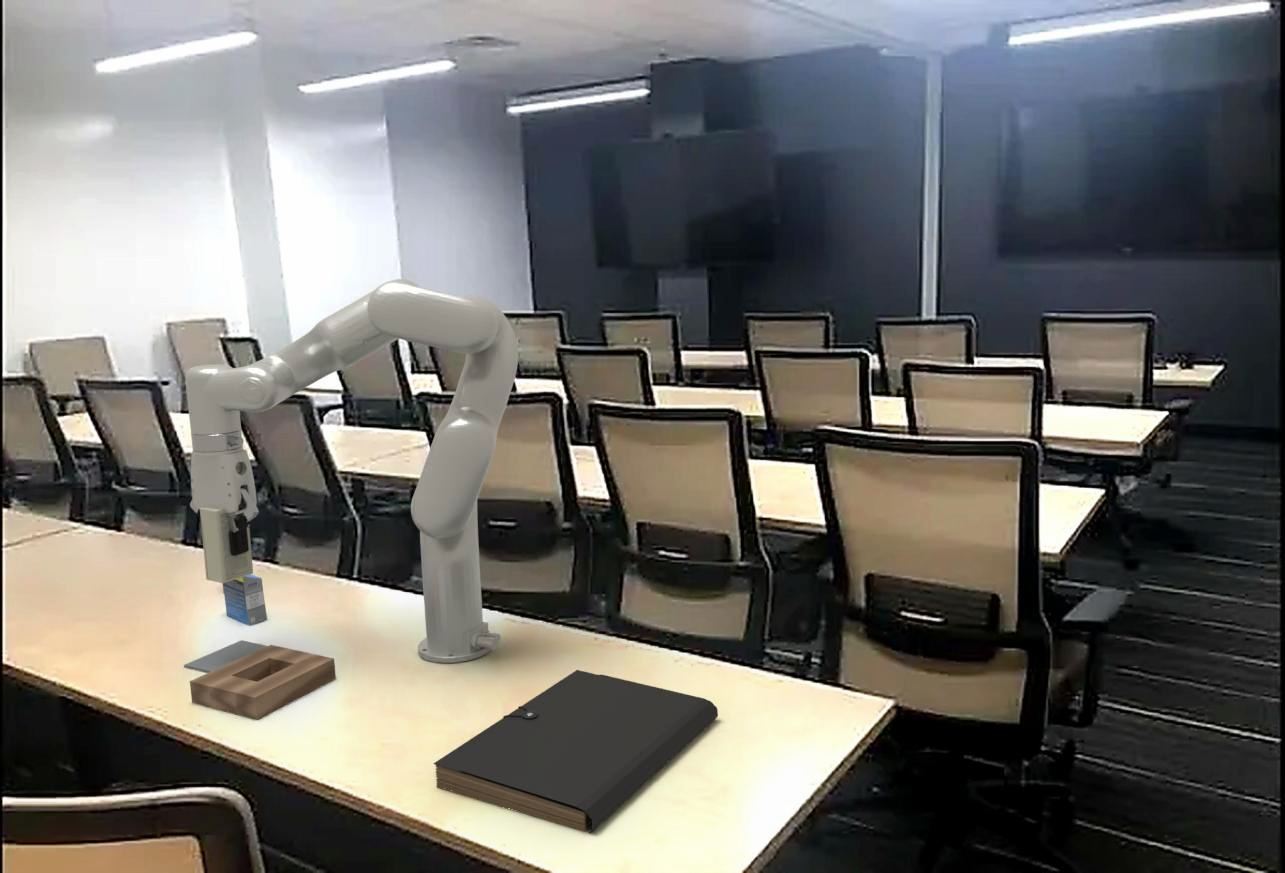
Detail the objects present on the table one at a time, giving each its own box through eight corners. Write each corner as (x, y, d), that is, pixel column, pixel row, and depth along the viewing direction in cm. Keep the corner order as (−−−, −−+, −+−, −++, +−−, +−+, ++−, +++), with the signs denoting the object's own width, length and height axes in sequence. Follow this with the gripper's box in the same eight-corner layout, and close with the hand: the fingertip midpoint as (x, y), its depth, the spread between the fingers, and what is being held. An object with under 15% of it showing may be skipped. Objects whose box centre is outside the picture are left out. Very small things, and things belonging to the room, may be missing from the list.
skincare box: (236, 570, 178) (231, 500, 176) (254, 574, 176) (249, 502, 174) (204, 580, 173) (198, 507, 171) (222, 584, 171) (216, 510, 169)
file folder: (576, 667, 163) (718, 699, 151) (576, 692, 164) (717, 726, 152) (432, 760, 135) (592, 809, 123) (433, 790, 136) (593, 841, 124)
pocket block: (335, 679, 170) (334, 658, 169) (257, 719, 156) (254, 697, 155) (272, 664, 176) (270, 644, 176) (192, 702, 163) (189, 681, 162)
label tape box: (268, 620, 197) (261, 557, 195) (247, 627, 194) (241, 562, 192) (244, 610, 203) (238, 548, 201) (224, 616, 200) (217, 553, 198)
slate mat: (291, 653, 181) (291, 650, 181) (234, 679, 171) (234, 677, 171) (241, 642, 187) (241, 640, 187) (184, 667, 176) (183, 664, 176)
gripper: (273, 441, 170) (283, 551, 173) (199, 434, 178) (209, 540, 181) (237, 450, 163) (248, 564, 167) (161, 443, 171) (173, 552, 174)
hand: (228, 550), depth 174 cm, fingers closed on skincare box, 4 cm apart
